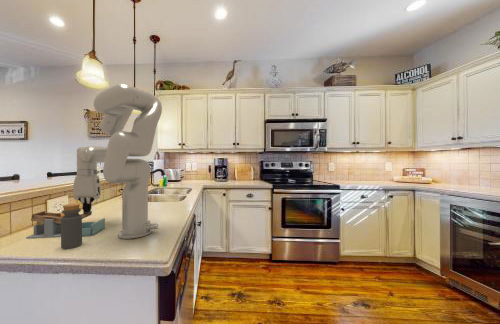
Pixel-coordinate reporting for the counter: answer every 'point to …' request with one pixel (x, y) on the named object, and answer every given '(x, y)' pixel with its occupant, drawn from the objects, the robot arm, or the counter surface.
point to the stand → (46, 230)
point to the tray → (92, 227)
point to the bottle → (71, 226)
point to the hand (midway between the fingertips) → (87, 211)
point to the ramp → (52, 217)
